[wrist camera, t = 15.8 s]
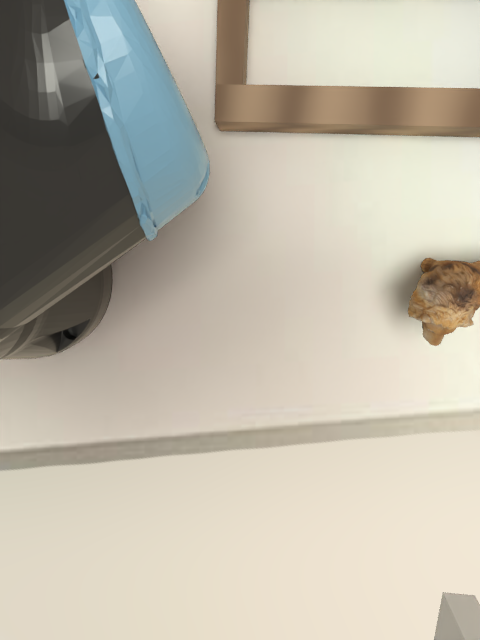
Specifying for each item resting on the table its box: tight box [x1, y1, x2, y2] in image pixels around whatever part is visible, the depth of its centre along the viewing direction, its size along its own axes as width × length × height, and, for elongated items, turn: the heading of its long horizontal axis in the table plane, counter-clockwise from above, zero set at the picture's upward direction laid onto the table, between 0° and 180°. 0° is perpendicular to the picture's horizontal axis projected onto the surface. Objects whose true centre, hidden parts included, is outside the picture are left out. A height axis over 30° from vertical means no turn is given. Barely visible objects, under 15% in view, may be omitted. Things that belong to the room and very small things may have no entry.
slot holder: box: [215, 0, 480, 137], centre depth 29 cm, size 24×12×3 cm, turn 88°
